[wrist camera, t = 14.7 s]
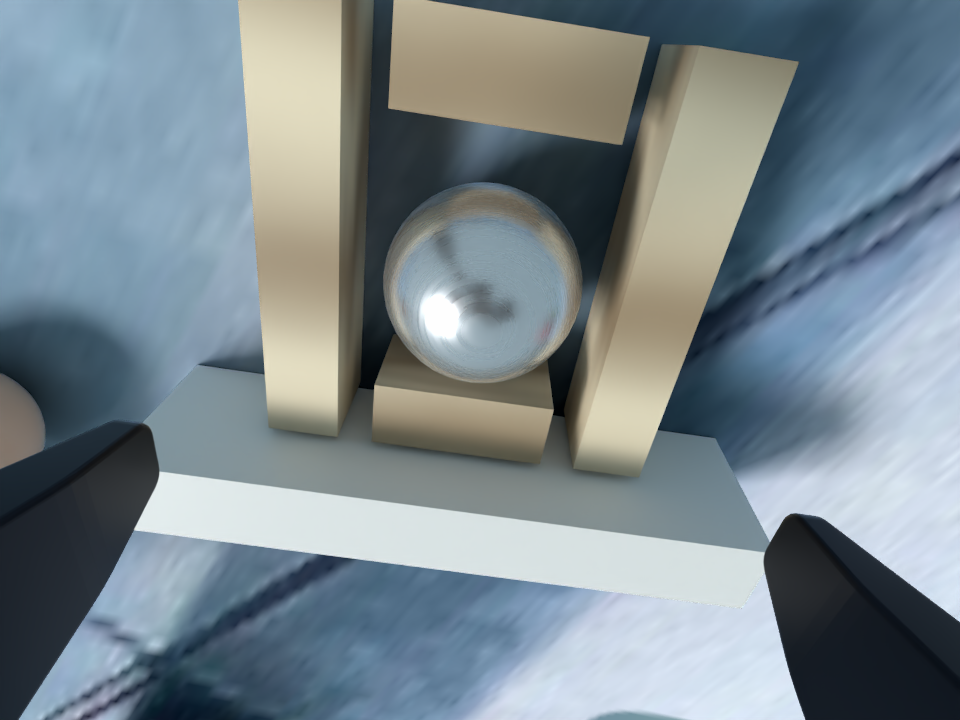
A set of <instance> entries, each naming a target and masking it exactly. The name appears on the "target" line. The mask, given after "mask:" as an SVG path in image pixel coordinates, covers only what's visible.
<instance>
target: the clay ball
mask: <svg viewBox="0 0 960 720" xmlns="http://www.w3.org/2000/svg"><path fill="white" fill-rule="evenodd" d="M45 435H46V431H45V423H44V419H43V415H42V413H41V410H40V408H39V406H38V405H37V403H36V401H35V400H34V399H33V397H32V396H31V395H30V394H29V392H28V391H27V390H26V389H24V388H23V387H22V386H21V385H20V384H19V383H17V382H16V381H14V380H13V379H11V378H9V377H8V376H6V375H4V374H2V373H0V469H1V468H3V467H6V466H8V465H10V464H13V463H15V462H17V461H20V460H22V459H24V458H27V457H29V456H31V455H34V454H36V453H38V452H41V451H43V449H44V445H45Z"/></svg>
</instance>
